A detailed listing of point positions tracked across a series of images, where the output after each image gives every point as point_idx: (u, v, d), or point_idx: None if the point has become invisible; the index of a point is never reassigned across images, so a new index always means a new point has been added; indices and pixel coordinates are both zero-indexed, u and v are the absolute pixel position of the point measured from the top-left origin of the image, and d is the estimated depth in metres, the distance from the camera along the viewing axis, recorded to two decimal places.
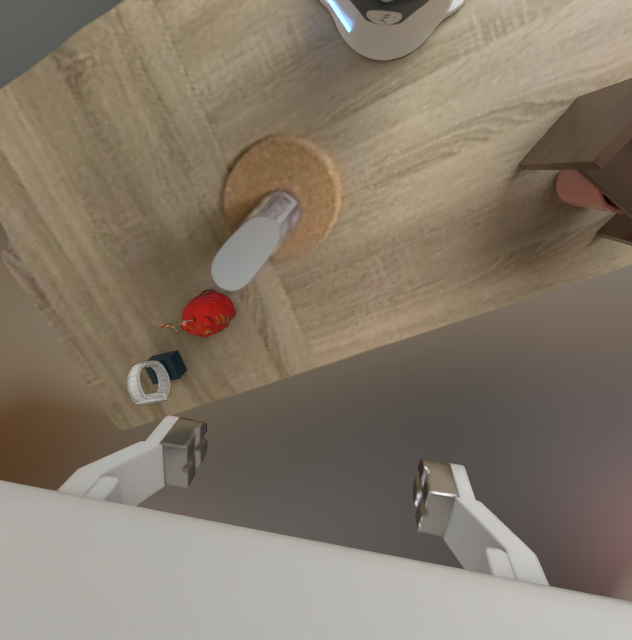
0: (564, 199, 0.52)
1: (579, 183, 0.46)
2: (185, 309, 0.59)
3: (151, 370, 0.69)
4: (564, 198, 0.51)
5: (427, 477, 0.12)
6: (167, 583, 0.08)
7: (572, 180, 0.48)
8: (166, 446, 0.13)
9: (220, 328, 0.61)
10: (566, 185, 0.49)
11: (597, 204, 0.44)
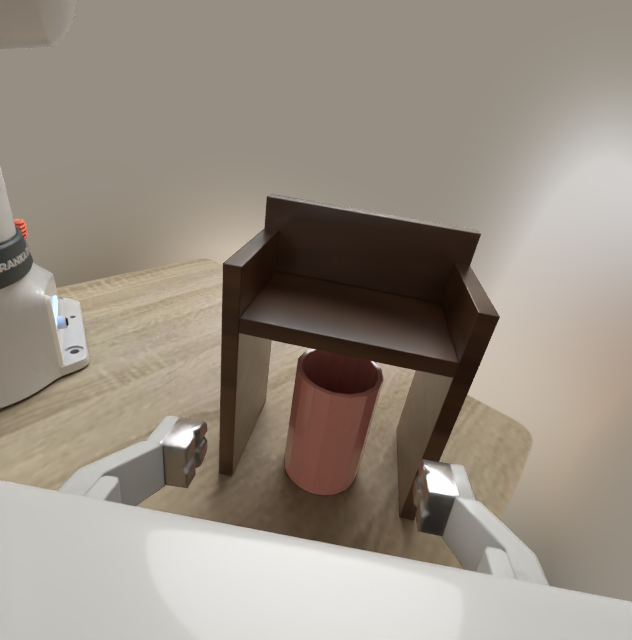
0: (311, 482, 0.30)
1: (296, 420, 0.29)
2: None
3: None
4: (310, 480, 0.30)
5: (427, 477, 0.12)
6: (167, 583, 0.08)
7: (292, 435, 0.30)
8: (166, 446, 0.13)
9: None
10: (294, 453, 0.31)
11: (327, 407, 0.27)
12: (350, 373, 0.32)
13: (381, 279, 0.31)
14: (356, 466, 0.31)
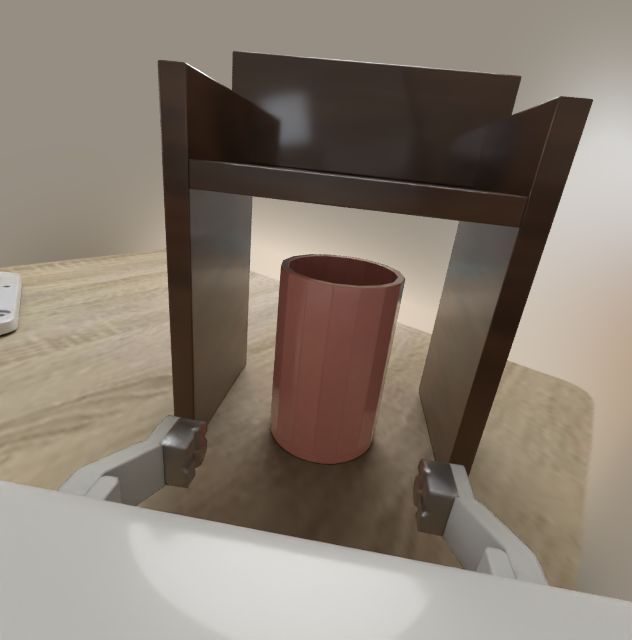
0: (310, 443, 0.21)
1: (283, 347, 0.20)
2: None
3: None
4: (307, 439, 0.21)
5: (427, 477, 0.12)
6: (167, 583, 0.08)
7: (278, 375, 0.21)
8: (166, 446, 0.13)
9: None
10: (282, 401, 0.21)
11: (327, 309, 0.18)
12: None
13: (390, 160, 0.23)
14: (373, 418, 0.22)
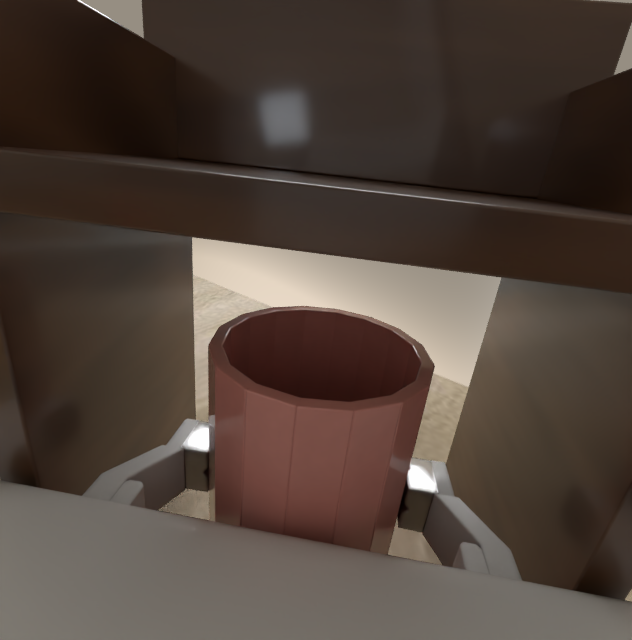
0: None
1: (215, 486, 0.11)
2: None
3: None
4: None
5: None
6: (167, 583, 0.08)
7: None
8: (187, 450, 0.13)
9: None
10: None
11: (285, 446, 0.09)
12: (348, 368, 0.15)
13: (403, 153, 0.14)
14: None
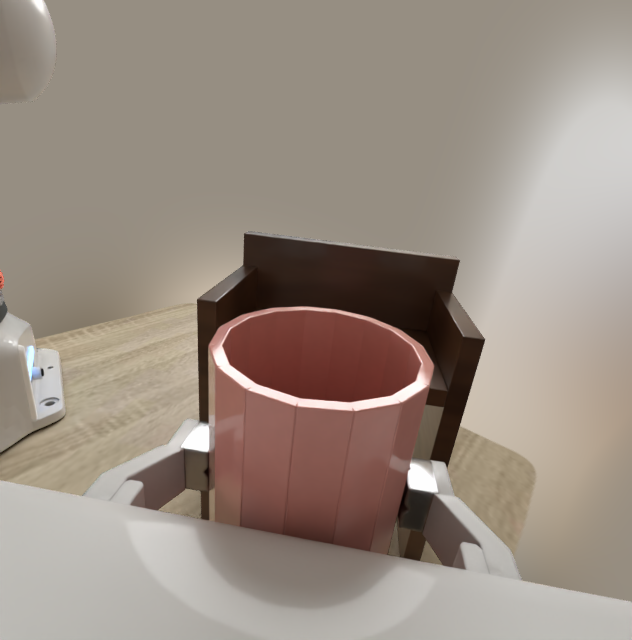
0: None
1: (215, 486, 0.11)
2: None
3: None
4: None
5: None
6: (167, 583, 0.08)
7: None
8: (187, 450, 0.13)
9: None
10: None
11: (285, 447, 0.09)
12: (348, 368, 0.15)
13: (364, 310, 0.30)
14: None
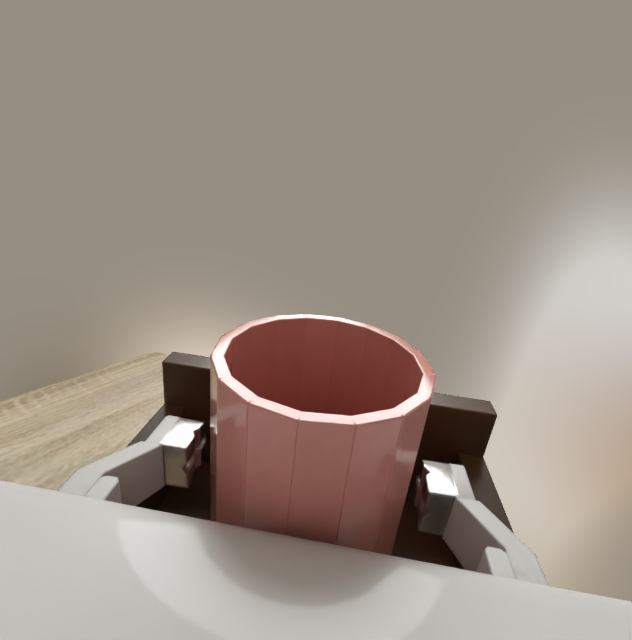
0: None
1: (216, 496, 0.11)
2: None
3: None
4: None
5: (427, 477, 0.12)
6: (167, 583, 0.08)
7: None
8: (166, 446, 0.13)
9: None
10: None
11: (287, 460, 0.09)
12: (349, 376, 0.15)
13: None
14: None
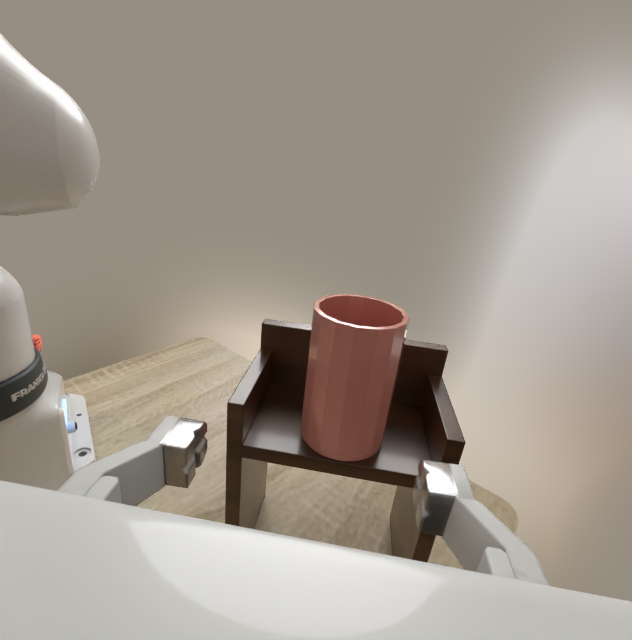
0: (334, 445, 0.27)
1: (314, 370, 0.26)
2: None
3: None
4: (332, 442, 0.27)
5: (427, 477, 0.12)
6: (167, 583, 0.08)
7: (310, 391, 0.27)
8: (166, 446, 0.13)
9: None
10: (313, 412, 0.27)
11: (351, 344, 0.24)
12: (369, 325, 0.30)
13: None
14: (383, 426, 0.28)
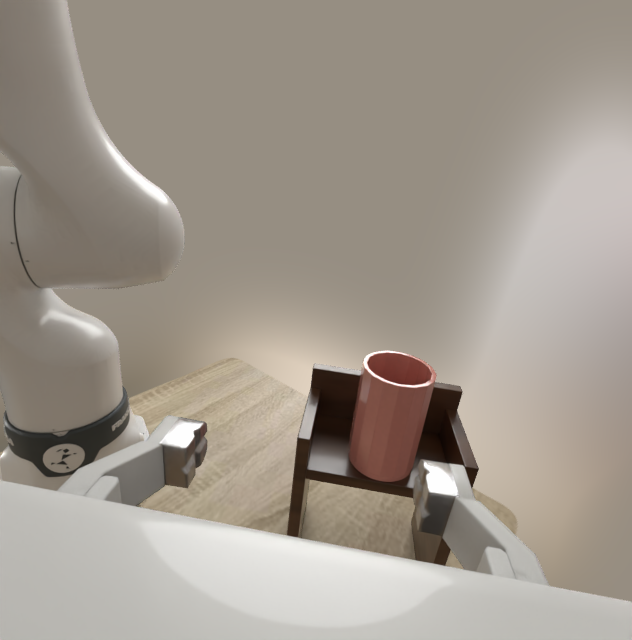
0: (378, 470, 0.35)
1: (364, 414, 0.34)
2: None
3: None
4: (377, 467, 0.35)
5: (427, 477, 0.12)
6: (167, 583, 0.08)
7: (359, 429, 0.35)
8: (166, 446, 0.13)
9: None
10: (361, 444, 0.35)
11: (395, 397, 0.32)
12: (402, 374, 0.38)
13: None
14: (415, 454, 0.36)
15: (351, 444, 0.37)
